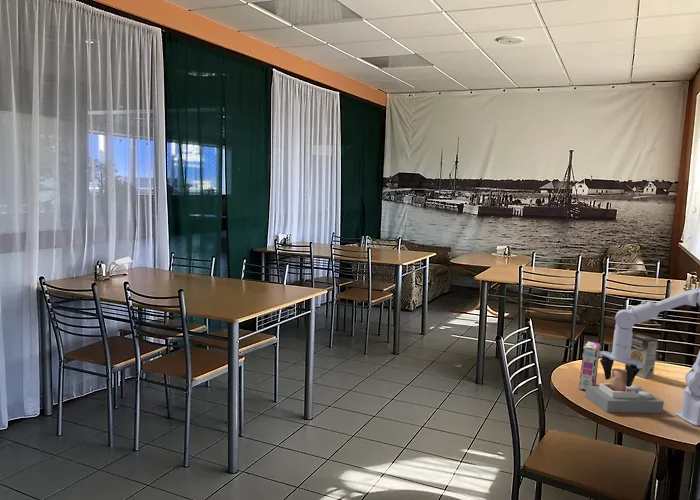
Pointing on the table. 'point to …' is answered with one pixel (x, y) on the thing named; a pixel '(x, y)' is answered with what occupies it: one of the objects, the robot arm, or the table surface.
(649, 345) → the coffee box
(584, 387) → the candy bar box
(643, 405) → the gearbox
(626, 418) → the table surface
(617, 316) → the robot arm
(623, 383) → the peach tapered capsule
